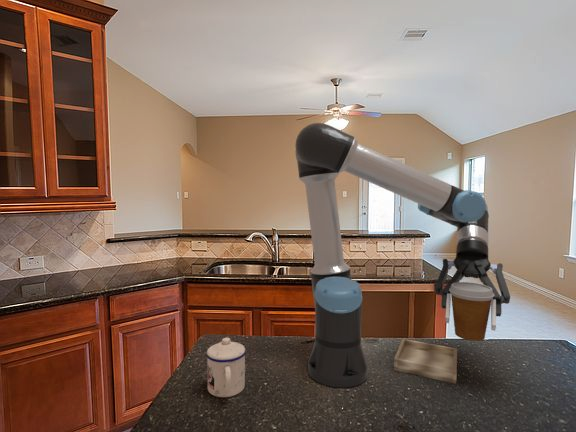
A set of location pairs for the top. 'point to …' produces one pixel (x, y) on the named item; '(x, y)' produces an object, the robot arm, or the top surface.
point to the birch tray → (427, 360)
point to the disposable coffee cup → (471, 309)
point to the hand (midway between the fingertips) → (469, 323)
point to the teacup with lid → (226, 368)
